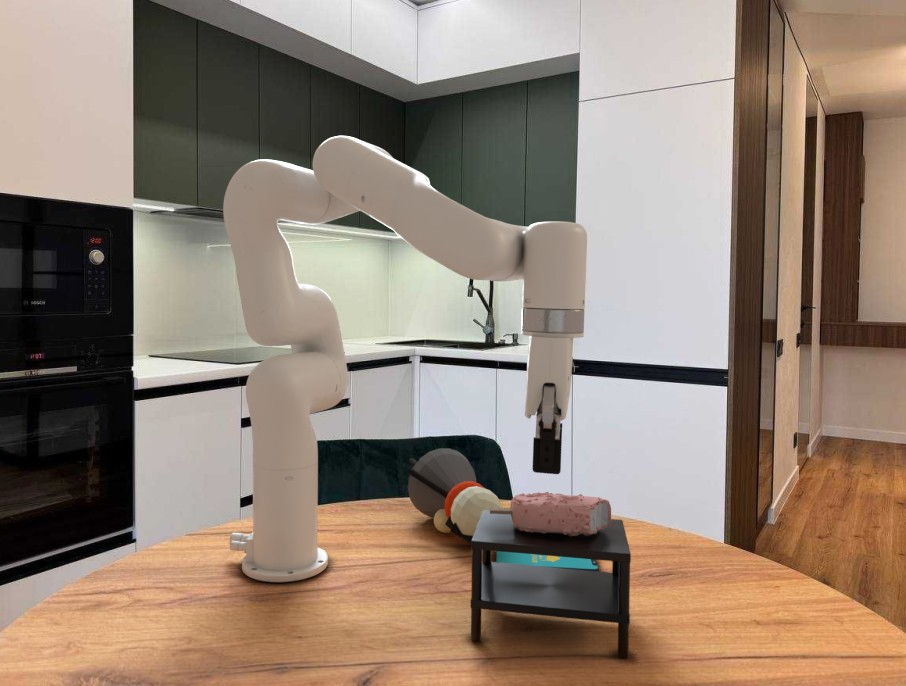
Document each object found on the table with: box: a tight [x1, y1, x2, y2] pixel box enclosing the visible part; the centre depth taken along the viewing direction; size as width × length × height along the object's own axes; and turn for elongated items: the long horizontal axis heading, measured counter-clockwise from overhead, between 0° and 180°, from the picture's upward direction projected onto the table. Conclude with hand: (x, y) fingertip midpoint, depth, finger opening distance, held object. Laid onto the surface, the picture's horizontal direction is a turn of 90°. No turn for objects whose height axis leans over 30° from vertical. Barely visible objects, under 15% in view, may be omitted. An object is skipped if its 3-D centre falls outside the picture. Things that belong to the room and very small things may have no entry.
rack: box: [470, 510, 632, 660], centre depth 86 cm, size 18×12×12 cm, turn 78°
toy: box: [407, 447, 504, 546], centre depth 122 cm, size 17×13×30 cm
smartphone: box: [495, 551, 600, 572], centre depth 106 cm, size 7×1×15 cm
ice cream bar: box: [490, 491, 612, 536], centre depth 85 cm, size 6×4×15 cm
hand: (547, 462), depth 85 cm, fingers open, 9 cm apart
